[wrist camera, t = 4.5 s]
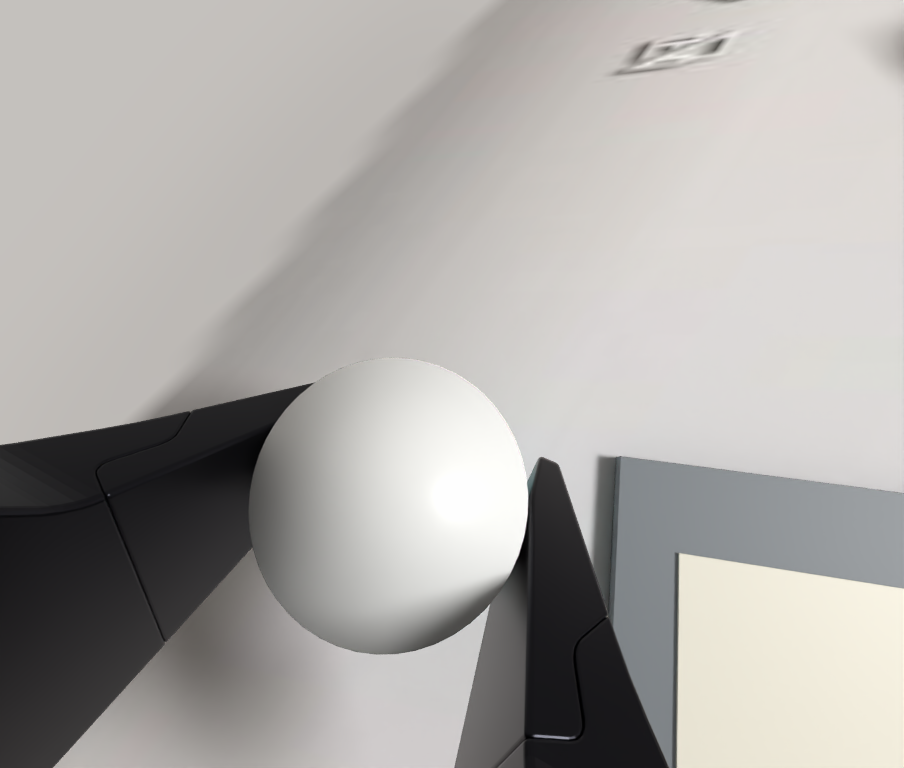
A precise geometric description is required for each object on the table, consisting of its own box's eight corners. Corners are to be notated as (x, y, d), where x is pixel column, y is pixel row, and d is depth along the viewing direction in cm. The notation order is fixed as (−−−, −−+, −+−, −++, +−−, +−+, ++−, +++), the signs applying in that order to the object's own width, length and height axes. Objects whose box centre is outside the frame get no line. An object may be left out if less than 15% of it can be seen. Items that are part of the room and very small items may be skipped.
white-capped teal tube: (391, 536, 15) (216, 622, 6) (409, 427, 16) (285, 344, 7) (501, 554, 15) (511, 684, 5) (513, 441, 16) (541, 372, 6)
